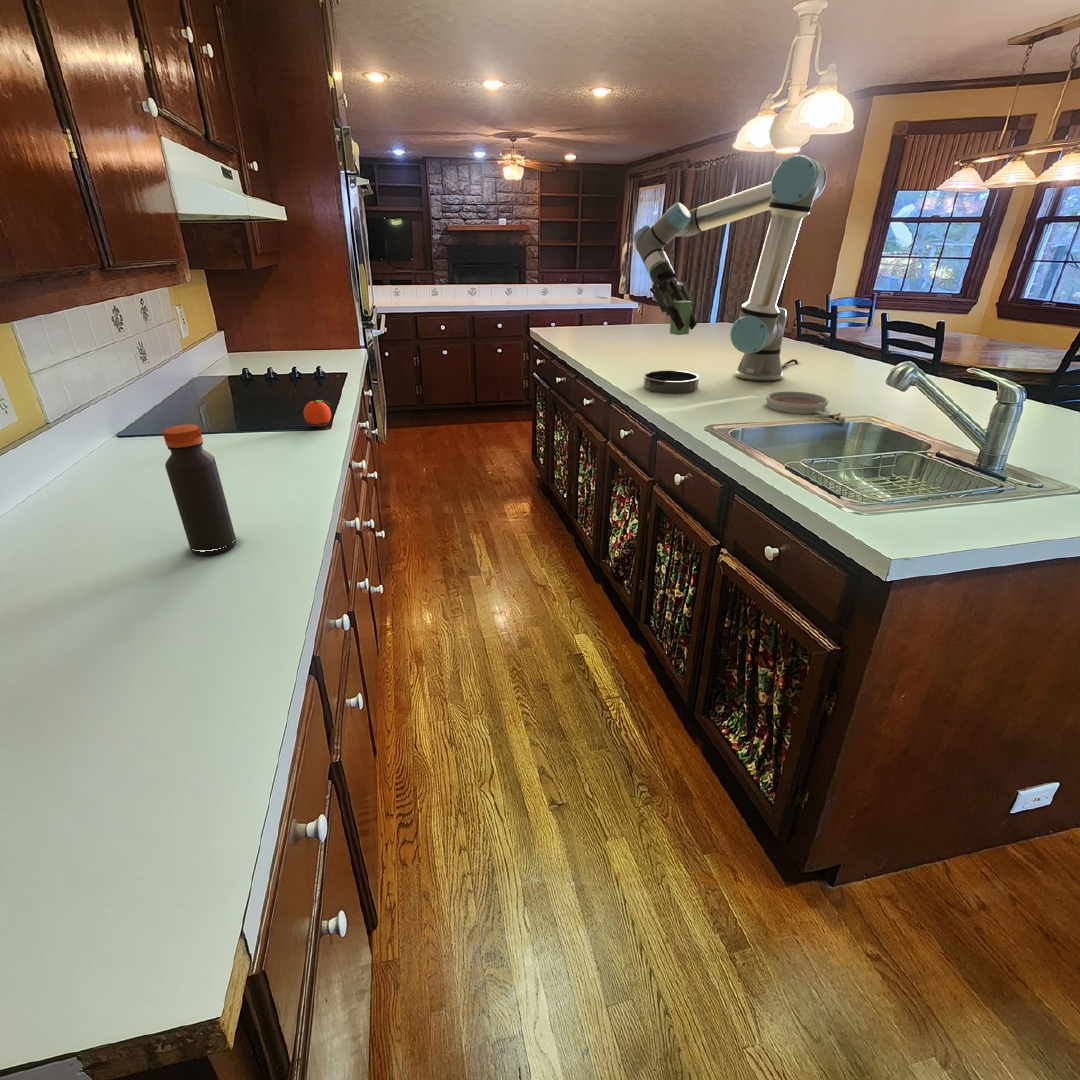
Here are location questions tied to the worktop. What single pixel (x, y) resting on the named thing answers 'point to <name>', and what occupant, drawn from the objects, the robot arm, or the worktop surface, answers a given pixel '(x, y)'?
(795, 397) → the frying pan
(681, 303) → the green block
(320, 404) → the clementine
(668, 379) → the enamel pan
